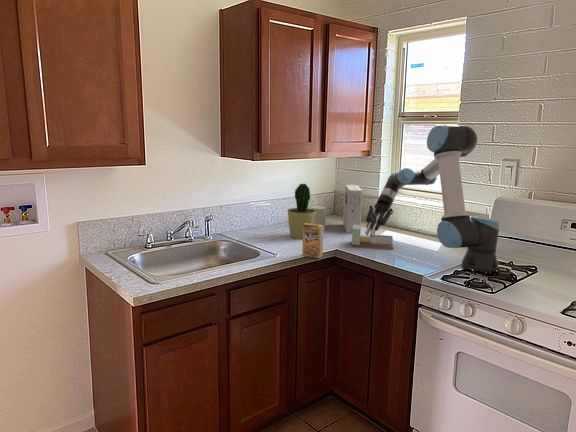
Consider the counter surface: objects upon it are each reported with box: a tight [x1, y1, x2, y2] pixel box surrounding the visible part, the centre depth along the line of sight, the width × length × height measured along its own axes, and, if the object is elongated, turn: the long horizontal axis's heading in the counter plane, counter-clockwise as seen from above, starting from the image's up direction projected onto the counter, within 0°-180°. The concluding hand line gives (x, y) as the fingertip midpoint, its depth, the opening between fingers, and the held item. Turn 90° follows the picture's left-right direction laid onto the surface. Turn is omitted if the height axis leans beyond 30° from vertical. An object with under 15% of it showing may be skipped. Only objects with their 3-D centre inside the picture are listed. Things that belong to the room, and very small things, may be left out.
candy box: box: [301, 223, 325, 259], centre depth 212 cm, size 9×4×15 cm, turn 66°
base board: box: [351, 242, 394, 250], centre depth 236 cm, size 10×21×1 cm, turn 81°
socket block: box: [351, 224, 362, 245], centre depth 236 cm, size 10×4×8 cm, turn 171°
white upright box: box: [342, 184, 363, 234], centre depth 269 cm, size 22×8×25 cm, turn 179°
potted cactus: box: [286, 182, 316, 240], centre depth 246 cm, size 15×15×30 cm
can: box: [310, 205, 327, 228], centre depth 275 cm, size 9×9×12 cm
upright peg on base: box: [360, 212, 378, 242], centre depth 234 cm, size 3×11×15 cm, turn 81°
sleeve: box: [370, 234, 394, 245], centre depth 234 cm, size 4×11×4 cm, turn 81°
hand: (369, 234), depth 231 cm, fingers closed on upright peg on base, 2 cm apart
